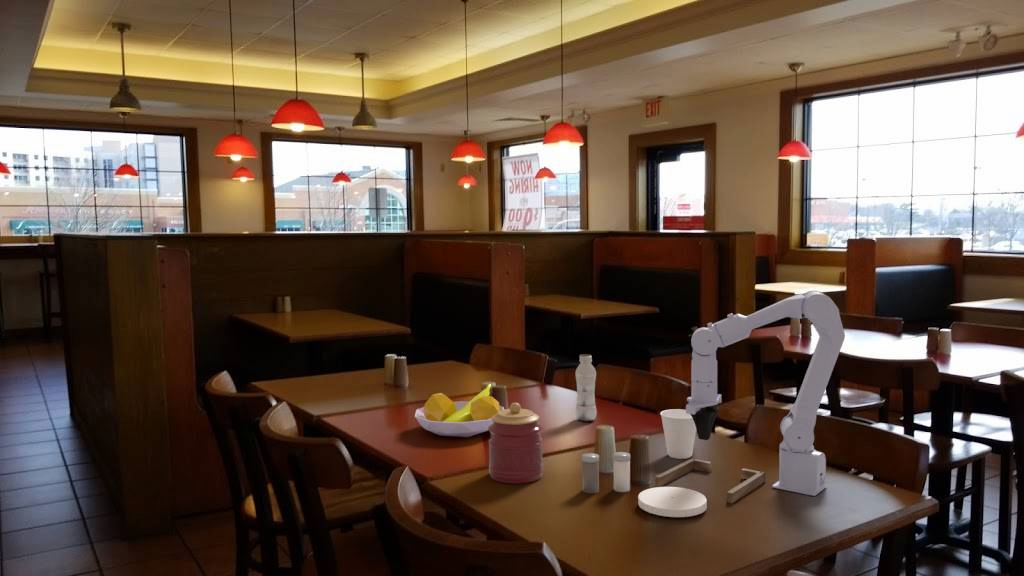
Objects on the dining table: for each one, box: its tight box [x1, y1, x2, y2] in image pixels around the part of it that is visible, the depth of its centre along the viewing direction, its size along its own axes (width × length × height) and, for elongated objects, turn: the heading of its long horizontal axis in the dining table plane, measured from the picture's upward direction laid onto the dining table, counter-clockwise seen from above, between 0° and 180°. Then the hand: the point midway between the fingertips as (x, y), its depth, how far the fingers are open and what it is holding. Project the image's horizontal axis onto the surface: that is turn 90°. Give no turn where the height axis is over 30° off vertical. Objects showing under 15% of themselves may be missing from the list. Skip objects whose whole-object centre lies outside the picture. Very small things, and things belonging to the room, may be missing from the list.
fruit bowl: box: [414, 383, 505, 438], centre depth 228 cm, size 28×27×11 cm
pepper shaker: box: [581, 452, 600, 495], centre depth 175 cm, size 4×4×8 cm
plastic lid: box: [637, 486, 708, 518], centre depth 164 cm, size 14×14×2 cm
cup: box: [659, 408, 697, 460], centre depth 200 cm, size 10×10×11 cm
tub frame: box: [654, 457, 766, 504], centre depth 178 cm, size 18×18×2 cm
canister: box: [488, 402, 544, 485], centre depth 186 cm, size 13×13×18 cm
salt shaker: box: [612, 451, 631, 493], centre depth 175 cm, size 4×4×8 cm
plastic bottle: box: [575, 354, 598, 422], centre depth 238 cm, size 6×7×20 cm
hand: (704, 439), depth 180 cm, fingers closed
